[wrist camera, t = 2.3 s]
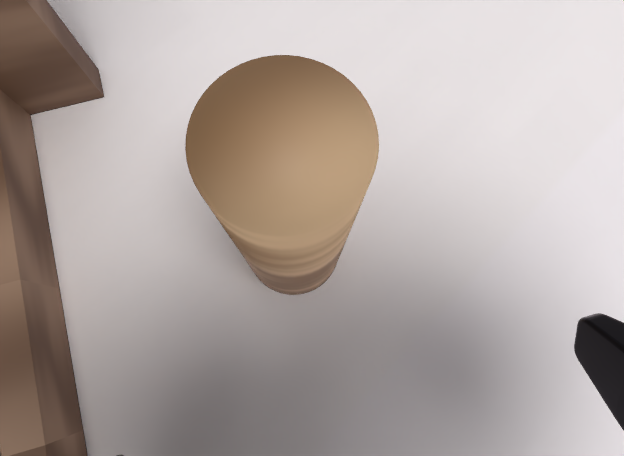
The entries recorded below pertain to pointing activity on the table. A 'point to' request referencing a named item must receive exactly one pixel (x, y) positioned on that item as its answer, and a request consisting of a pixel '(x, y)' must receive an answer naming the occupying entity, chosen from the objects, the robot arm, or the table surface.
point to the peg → (284, 164)
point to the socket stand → (34, 235)
